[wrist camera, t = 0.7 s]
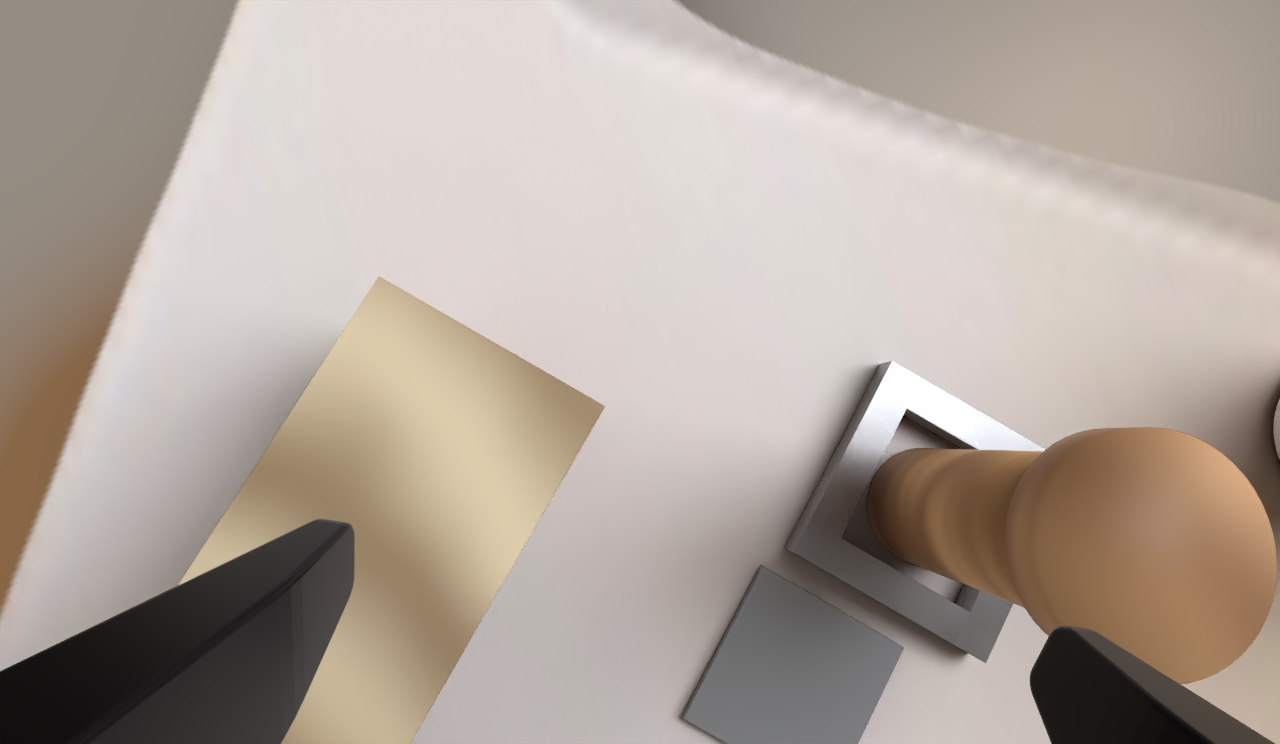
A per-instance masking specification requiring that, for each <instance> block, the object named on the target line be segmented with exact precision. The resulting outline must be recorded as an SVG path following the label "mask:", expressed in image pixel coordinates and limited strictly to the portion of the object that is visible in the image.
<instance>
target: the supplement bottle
mask: <svg viewBox="0 0 1280 744" xmlns="http://www.w3.org/2000/svg"><path fill="white" fill-rule="evenodd" d="M1273 434H1274V441H1275V446H1276V451H1277V454H1278V457H1279V460H1280V399H1279V401H1278V404H1277V407H1276V411H1275V416H1274V426H1273Z"/></svg>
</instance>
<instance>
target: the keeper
mask: <svg viewBox="0 0 1280 744" xmlns="http://www.w3.org/2000/svg"><path fill="white" fill-rule="evenodd" d="M903 415H904V416H906V417H908V418H910V419H911V420H913V421H915V422H916V423H918V424H920V425H922V426H923V427H925V428H927V429H929V430H930V431H932V432H934V433H936V434H937V435H939V436H941V437H942V438H944V439H946V440H948V441H949V442H951V443H953V444H955V445H956V446H958V447H960V448H961V449H973V450H1012V451H1045V449H1044V448H1042V447H1040V446H1038V445H1037V444H1035V443H1033V442H1031V441H1030V440H1028V439H1026V438H1025V437H1023V436H1021V435H1019V434H1018V433H1016V432H1014V431H1012V430H1011V429H1009V428H1007V427H1006V426H1004V425H1002V424H1000V423H999V422H997V421H995V420H993V419H992V418H990V417H988V416H987V415H985V414H983V413H981V412H980V411H978V410H976V409H974V408H973V407H971V406H969V405H967V404H966V403H964V402H962V401H961V400H959V399H957V398H955V397H954V396H952V395H950V394H948V393H947V392H945V391H943V390H942V389H940V388H938V387H936V386H935V385H933V384H931V383H929V382H928V381H926V380H924V379H923V378H921V377H919V376H917V375H916V374H914V373H912V372H910V371H909V370H907V369H905V368H903V367H902V366H900V365H898V364H897V363H895V362H893V361H890V362H886V363H882V364H880V365H879V367H878V369H877V371H876V373H875V375H874V377H873V379H872V381H871V383H870V385H869V387H868V389H867V390H866V392H865V394H864V396H863V398H862V400H861V402H860V404H859V406H858V408H857V410H856V412H855V414H854V416H853V417H852V419H851V421H850V423H849V425H848V427H847V429H846V431H845V433H844V435H843V437H842V439H841V441H840V443H839V444H838V446H837V448H836V450H835V452H834V454H833V456H832V458H831V460H830V462H829V464H828V466H827V468H826V470H825V471H824V473H823V475H822V477H821V479H820V481H819V483H818V485H817V487H816V489H815V491H814V493H813V495H812V497H811V498H810V500H809V502H808V504H807V506H806V508H805V510H804V512H803V514H802V516H801V518H800V520H799V522H798V524H797V525H796V527H795V529H794V531H793V533H792V535H791V537H790V539H789V541H788V543H787V545H786V547H785V548H786V549H788V550H790V551H791V552H793V553H795V554H797V555H798V556H800V557H802V558H804V559H805V560H807V561H809V562H810V563H812V564H814V565H816V566H817V567H819V568H821V569H823V570H824V571H826V572H828V573H830V574H831V575H833V576H835V577H837V578H838V579H840V580H842V581H844V582H845V583H847V584H849V585H851V586H852V587H854V588H856V589H857V590H859V591H861V592H863V593H864V594H866V595H868V596H870V597H871V598H873V599H875V600H877V601H878V602H880V603H882V604H884V605H885V606H887V607H889V608H891V609H892V610H894V611H896V612H898V613H899V614H901V615H903V616H905V617H906V618H908V619H910V620H911V621H913V622H915V623H917V624H918V625H920V626H922V627H924V628H925V629H927V630H929V631H931V632H932V633H934V634H936V635H938V636H939V637H941V638H943V639H945V640H946V641H948V642H950V643H952V644H953V645H955V646H957V647H959V648H960V649H962V650H964V651H965V652H967V653H969V654H971V655H972V656H974V657H976V658H978V659H979V660H981V661H983V662H985V663H986V661H987V659H988V657H989V655H990V653H991V651H992V648H993V646H994V644H995V642H996V640H997V638H998V635H999V633H1000V631H1001V629H1002V627H1003V625H1004V622H1005V620H1006V618H1007V616H1008V614H1009V612H1010V609H1011V607H1012V605H1013V603H1012V602H1009V601H1007V600H1004V599H1001V598H999V597H996V596H994V595H991V594H989V593H986V592H983V591H981V590H978V589H976V588H973V587H971V586H968V585H965V584H964V586H963V588H962V590H961V592H960V594H959V596H958V599H957V601H956V603H953V602H951V601H950V600H948V599H946V598H944V597H943V596H941V595H939V594H937V593H936V592H934V591H932V590H930V589H929V588H927V587H925V586H923V585H922V584H920V583H918V582H917V581H915V580H913V579H911V578H910V577H908V576H906V575H904V574H903V573H901V572H899V571H897V570H896V569H894V568H892V567H890V566H889V565H887V564H885V563H883V562H882V561H880V560H878V559H876V558H875V557H873V556H871V555H870V554H868V553H866V552H864V551H863V550H861V549H859V548H857V547H856V546H854V545H852V544H850V543H849V542H847V541H845V540H843V539H842V538H841V537H842V535H843V533H844V531H845V529H846V527H847V525H848V523H849V521H850V519H851V517H852V516H853V514H854V512H855V510H856V508H857V506H858V504H859V502H860V500H861V498H862V496H863V494H864V492H865V490H866V488H867V486H868V484H869V482H870V480H871V478H872V476H873V474H874V472H875V470H876V468H877V466H878V464H879V462H880V460H881V458H882V456H883V454H884V452H885V450H886V448H887V446H888V445H889V443H890V441H891V439H892V437H893V435H894V433H895V431H896V429H897V427H898V425H899V423H900V421H901V419H902V417H903Z"/></svg>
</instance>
